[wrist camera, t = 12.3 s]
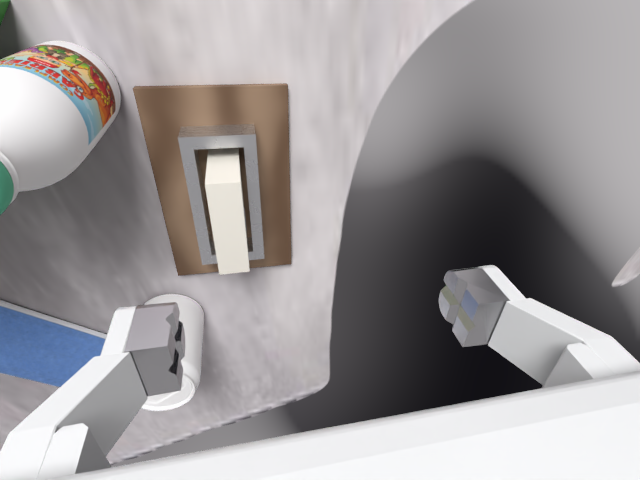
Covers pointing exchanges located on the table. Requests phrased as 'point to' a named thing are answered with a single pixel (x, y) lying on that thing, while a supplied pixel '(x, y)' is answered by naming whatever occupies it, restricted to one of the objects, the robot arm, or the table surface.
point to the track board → (163, 147)
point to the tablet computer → (44, 345)
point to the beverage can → (192, 360)
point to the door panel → (227, 210)
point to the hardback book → (3, 8)
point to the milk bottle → (51, 114)
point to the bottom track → (189, 145)
